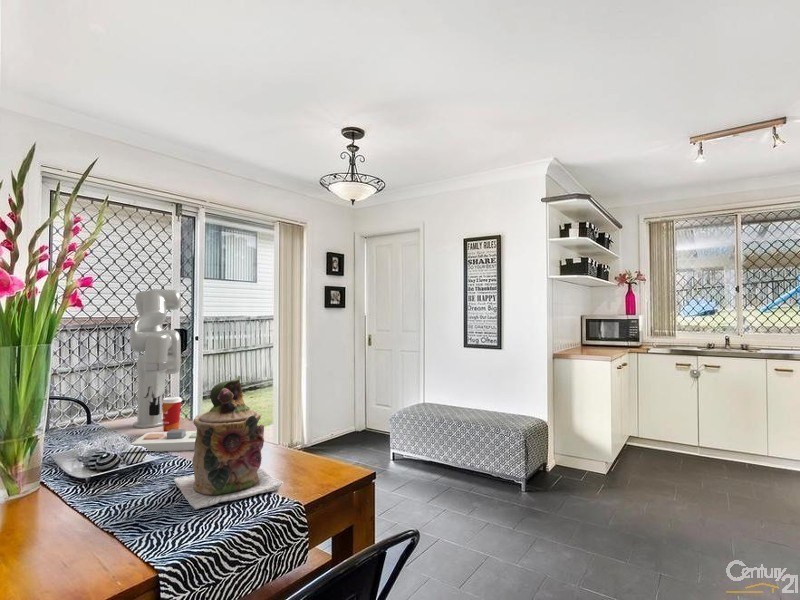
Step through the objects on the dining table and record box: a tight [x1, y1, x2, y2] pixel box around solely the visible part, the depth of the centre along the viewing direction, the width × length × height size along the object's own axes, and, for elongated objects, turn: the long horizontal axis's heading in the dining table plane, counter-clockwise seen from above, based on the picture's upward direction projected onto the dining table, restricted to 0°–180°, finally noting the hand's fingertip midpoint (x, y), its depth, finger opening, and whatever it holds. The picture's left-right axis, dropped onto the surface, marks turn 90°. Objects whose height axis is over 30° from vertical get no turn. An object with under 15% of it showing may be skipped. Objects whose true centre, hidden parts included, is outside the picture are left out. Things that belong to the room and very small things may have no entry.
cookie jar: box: [173, 375, 284, 511], centre depth 131 cm, size 25×25×32 cm
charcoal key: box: [167, 428, 187, 439], centre depth 171 cm, size 5×5×2 cm
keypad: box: [129, 430, 197, 452], centre depth 171 cm, size 16×26×3 cm, turn 100°
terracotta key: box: [144, 434, 164, 440], centre depth 170 cm, size 5×5×2 cm
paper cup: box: [162, 396, 183, 432], centre depth 189 cm, size 8×8×14 cm
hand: (154, 414), depth 170 cm, fingers closed
